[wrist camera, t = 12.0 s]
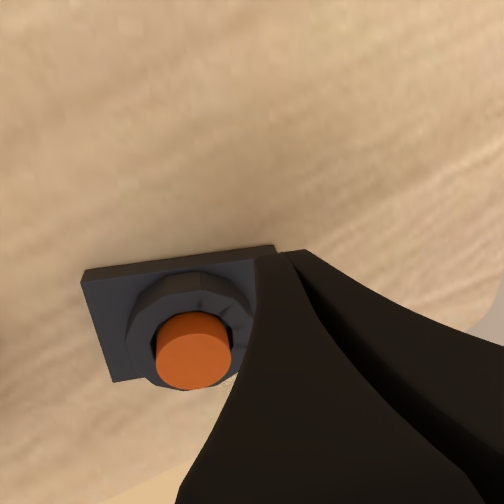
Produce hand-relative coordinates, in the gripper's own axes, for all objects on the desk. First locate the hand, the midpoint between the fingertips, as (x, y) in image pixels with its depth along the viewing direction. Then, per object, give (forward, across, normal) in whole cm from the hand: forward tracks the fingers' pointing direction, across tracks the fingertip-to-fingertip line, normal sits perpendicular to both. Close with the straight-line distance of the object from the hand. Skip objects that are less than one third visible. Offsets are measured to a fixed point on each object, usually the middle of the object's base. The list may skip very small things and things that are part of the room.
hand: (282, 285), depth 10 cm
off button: (+8, +3, +8) cm, 12 cm away
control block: (+10, +3, +8) cm, 13 cm away
